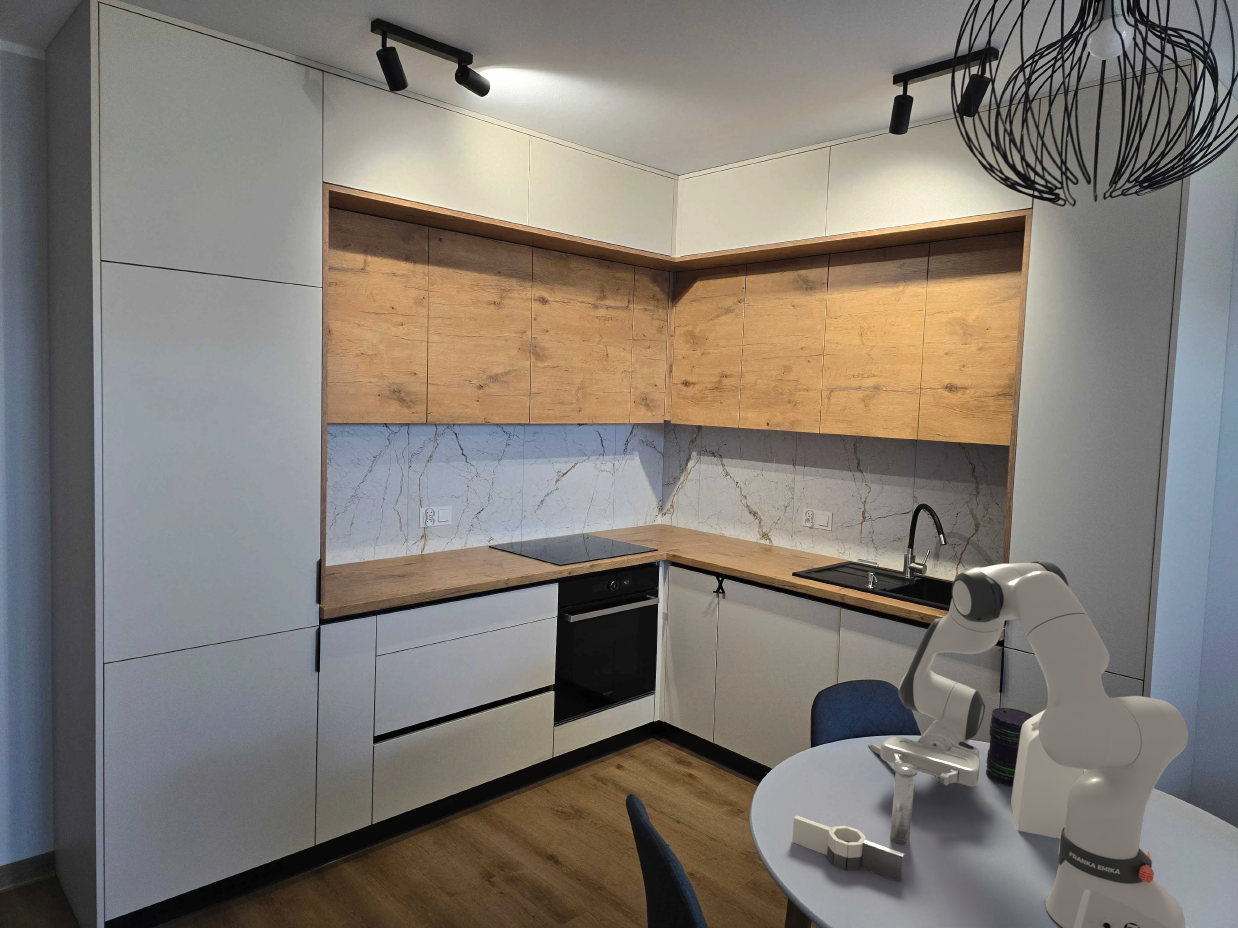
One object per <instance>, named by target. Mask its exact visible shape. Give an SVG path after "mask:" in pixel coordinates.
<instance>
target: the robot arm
mask: <svg viewBox="0 0 1238 928" xmlns="http://www.w3.org/2000/svg"><path fill="white" fill-rule="evenodd" d="M1011 620H1014V621H1019V624H1020V626H1021V629H1022V631H1023V633H1024V635H1025V637H1026V639H1027V641H1028V643H1029V645H1030V647H1031V649H1032V651H1033V654H1034V656H1035V657H1036V660H1037V662H1038V664H1039V666H1040V668H1041V671H1042V673H1043V676H1044V679H1045V683H1046V688H1047V702H1046V703H1047V704H1046V708H1045V709H1046V710H1045V709H1044V710H1045V711H1044V710H1043V711H1044V713H1043V714H1042V716H1041V719H1040V722H1039V737H1040V741H1041V744H1042V746H1043V748H1044V750H1045V751H1046V753H1047V754H1048V755H1049V757H1050V758H1051V759H1052V760H1053V761H1055V762H1056V763H1058V764H1059V765H1062V766H1066V767H1072V768H1079V769H1084V774H1083V775H1081V776H1080V777H1079V778H1078V779H1077V780H1076V781H1075V782H1074V783H1073V784H1072V786H1071V787H1070V789H1069V792H1068V801H1067V810H1066V819H1065V827H1064V828H1063V829H1062V832H1061V835H1060V839H1058V840H1059V841H1058V850H1057V851H1058V852H1057V857H1058V858H1057V860H1058V868H1057V871H1056V874H1055V879H1054V882H1053V885H1052V888H1051V890H1050V893H1049V895H1048V896H1047V898H1046V900H1045V908H1046V911H1047V913H1048V915H1049V916H1050V918H1051V919H1053V920H1054V922H1056V924H1058V925H1059V926H1060V927H1062V928H1190V927H1189V926H1188V925H1186V919H1185V914H1184V911H1183V908H1182V907H1181V904H1180V902H1179V901H1178V899H1177V898H1176V897H1175V896H1174V895H1173V894H1172V893H1170V892H1169V891H1168V890H1167V889H1166V888H1165V887H1164V886H1163V885H1162V884H1161V883H1160V882H1159V881H1157V880H1156V879H1155V878H1154V876H1155V875H1154V874H1155V872H1154V870H1153V861H1152V859H1151V853H1150V851H1147V852H1146V853H1147V854H1146V853H1145V852H1144V851H1143V850H1142V849H1141V848H1140V842H1141V836H1142V828H1143V822H1144V817H1145V811H1146V807H1147V804H1148V801H1149V800H1150V797H1151V795H1152V793H1153V791H1154V789H1155V786H1156V785H1157V783H1158V781H1159V779H1160V777H1161V776H1162V774H1163V772H1165V769H1166V768H1167V767H1168V766H1169V764H1170V763H1171V762H1172V761H1173V760H1174V759H1176V757H1178V756H1179V755H1180V754H1181V753H1182V752H1183V751H1185V749H1186V747H1187V745H1188V740H1189V730H1188V727H1187V724H1186V723H1187V722H1186V721H1185V718H1184V717H1183V715H1182V714H1181V712H1180V711H1179V710H1178V709H1177V708H1176V707H1175V706H1174V705H1172V704H1171V703H1170V702H1168V701H1165V700H1163V699H1157V698H1153V697H1147V696H1140V695H1130V696H1129V695H1128V696H1117V697H1110V696H1109V695H1108V694H1107V692H1106V690H1105V687H1104V684H1103V679H1102V675H1103V673H1104V672H1106V669H1107V668H1108V666H1109V664H1110V659H1111V658H1110V652H1109V651H1108V649H1107V647H1106V645H1105V644H1104V641H1103V640H1102V637H1101V636H1100V634H1099V632H1098V631H1097V629H1096V627H1095V626H1094V623H1093V621H1092V620H1091V618H1090V617H1089V615H1088V612H1087V611H1086V610H1085V608H1084V606H1083V605H1082V603H1081V602H1080V600H1079V599H1078V597H1077V595H1076V594H1074V592H1073V591H1072V589H1071V588H1070V585H1069V582H1068V579H1067V576H1066V575H1065V574H1064V572H1063V571H1062V570H1061V568H1060V567H1059V566H1058V565H1056V564H1054V563H1053V562H1048V561H1038V560H1037V561H1036V560H1035V561H1031V562H1017V563H1016V562H1015V563H1014V562H1013V563H999V564H993V565H992V564H991V565H988V566H984V567H982V566H981V567H980V566H978V567H972V568H969V569H967V570H965V571H962V572H959V573H958V574H957V575H956V576H955V577H954V579H953V583H952V586H951V600H950V606H949V610H948V612H947V614H946V615H945V616H944V617H938V618H935V619H934V620H933V621H932V622H931V623H930V625H929V626H928V628H927V629H926V631H925V633H924V635H923V638H922V639H921V642H920V644H919V645H918V648H917V651H916V652H915V655H914V657H913V659H912V661H911V663H910V666H909V668H908V670H907V671H906V673H905V674H904V675H903V677H902V679H901V681H900V684H899V686H898V693H897V694H898V697H899V699H900V701H901V702H902V704H903V706H904V707H905V708H906V709H908V710H911V711H914V712H917V713H921V714H923V715H926V716H928V717H930V718H933V719H935V720H934V721H933V722H932V723H931V724H930V726H929V727H928V728H927V730H926V731H924V733H923V734H922V735H921V736H920V737H919V739H918V740H917V741H916V740H912V739H908V738H906V737H902V736H891V737H889V738H887V739H886V740H885V741H883V742H882V744H881V745H880V747H881V755H880V758H881V760H883V761H884V762H887V763H891V764H893V766H894V765H895V764H896V763H908V764H911V765H913V766H915V767H916V768H917V769H918V772H921V773H923V774H927V775H930V776H934V777H937V778H939V784H941V785H944V786H949V784H953V783H957V784H960V785H964V786H966V787H970V788H972V787H977V785H978V783H979V776H980V766H981V759H980V749H979V748H977V747H976V746H974V745H972V744H969V743H970V740H971V739H973V738H974V737H976V736H977V733H978V731H979V730H980V727H981V725H982V722H983V721H984V720H983V719H984V715H985V709H986V704H985V702H984V699H983V696H982V695H981V693H980V692H979V690H977V689H974V688H972V687H971V686H968V685H965V684H963V683H960V682H958V681H954V680H952V679H950V678H947V677H945V676H942V675H939V674H937V673H935V672H934V671H933V670H932V669H931V666H932V664H933V663H934V660H935V658H936V655H938V654H940V653H958V654H965V655H974V654H981V653H984V652H987V651H989V650H990V649H992V648H993V647H995V646H996V645H997V643H998V642H999V640H1000V637H1001V636H1002V633H1003V630H1004V627H1005V626H1004V625H1005V621H1011Z"/></svg>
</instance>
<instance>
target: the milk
mask: <svg viewBox="0 0 1238 928" xmlns="http://www.w3.org/2000/svg"><path fill="white" fill-rule="evenodd" d="M1045 710H1046V708H1045V709H1044V710H1042V711H1040V712H1039V713H1037V714H1035V715H1033V717H1031V718H1030V719H1028V720H1027V721H1025V722H1024V723H1023V725H1022V728H1021V734H1020V741H1019V748H1018V755H1017V762H1016V769H1015V777H1014V784H1013V787H1012V791H1011V792H1012V793H1011V798H1010V799H1011V800H1010V806H1011V811H1012V814H1013V818H1014V823H1015V826H1016V830H1017V831H1018V832H1023V833H1024V832H1025V833H1029V834H1034V835H1038V836H1043V837H1049V838H1053V839H1058V840H1060V835H1061V832H1062V829H1063V828H1064V827H1065V819H1066V810H1067V801H1068V792H1069V789H1070V787H1071V786H1072V784H1073V783H1074V782H1075V781H1076V780H1077V779H1078V778H1079V777H1080V776H1081V775H1083V774H1084V772H1085V769H1079V768H1072V767H1066V766H1062V765H1059V764H1058V763H1056V762H1055V761H1053V760H1052V759H1051V758H1050V757H1049V755H1048V754H1047V753H1046V751H1045V750H1044V748H1043V746H1042V744H1041V741H1040V737H1039V722H1040V719H1041V716H1042V714H1043V713H1044V711H1045Z"/></svg>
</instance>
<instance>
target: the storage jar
mask: <svg viewBox="0 0 1238 928" xmlns="http://www.w3.org/2000/svg"><path fill="white" fill-rule="evenodd" d="M1033 716H1034V715H1033V714H1031V713H1029V712H1027V711H1024V710H1020V709H1017V708H1010V707H1009V708H1008V707H997V708H994V709H992V710H991V717H990V722H989V723H990V724H989V736H990V737H989V738H990V739H989V747H988V749H987V755H986V770H985V775H986V777H987V778H988V779H989V780H991V781H993V782H994V783H996V784H999V785H1001V786H1005V787H1009V788H1013V784H1014V777H1015V769H1016V762H1017V755H1018V748H1019V741H1020V734H1021V728H1022V725H1023V723H1024V722H1025V721H1027V720H1028V719H1030V718H1031V717H1033Z"/></svg>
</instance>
